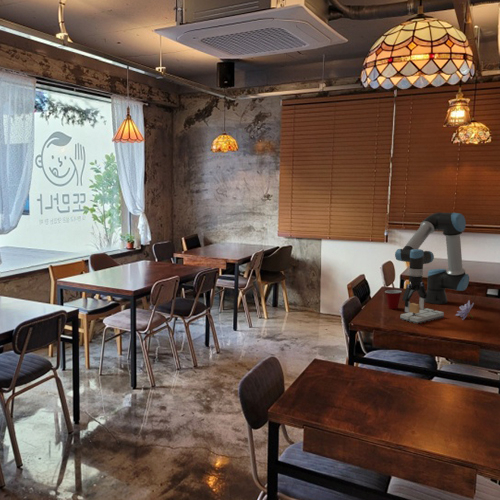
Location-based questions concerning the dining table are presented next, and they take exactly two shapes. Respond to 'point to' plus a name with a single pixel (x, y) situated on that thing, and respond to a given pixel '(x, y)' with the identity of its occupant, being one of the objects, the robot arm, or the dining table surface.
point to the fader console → (422, 316)
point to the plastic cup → (393, 298)
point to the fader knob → (414, 308)
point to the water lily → (465, 310)
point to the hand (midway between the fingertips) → (414, 310)
